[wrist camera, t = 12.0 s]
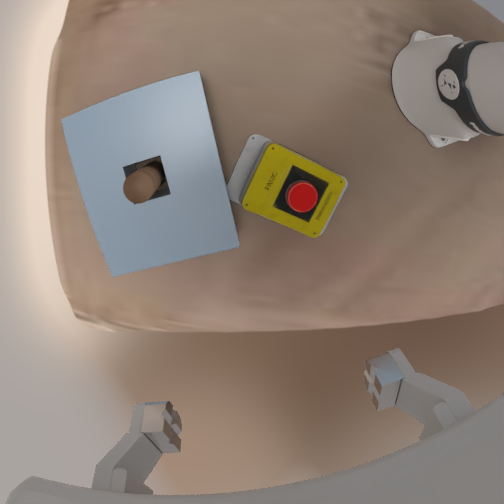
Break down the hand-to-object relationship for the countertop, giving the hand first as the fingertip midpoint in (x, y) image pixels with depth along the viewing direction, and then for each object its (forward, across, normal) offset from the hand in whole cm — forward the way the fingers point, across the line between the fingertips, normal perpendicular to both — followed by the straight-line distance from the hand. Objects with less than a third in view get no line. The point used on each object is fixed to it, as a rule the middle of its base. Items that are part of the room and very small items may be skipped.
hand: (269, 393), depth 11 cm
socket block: (+31, +9, -6) cm, 32 cm away
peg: (+31, +9, -6) cm, 32 cm away
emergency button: (+31, -7, 0) cm, 32 cm away
